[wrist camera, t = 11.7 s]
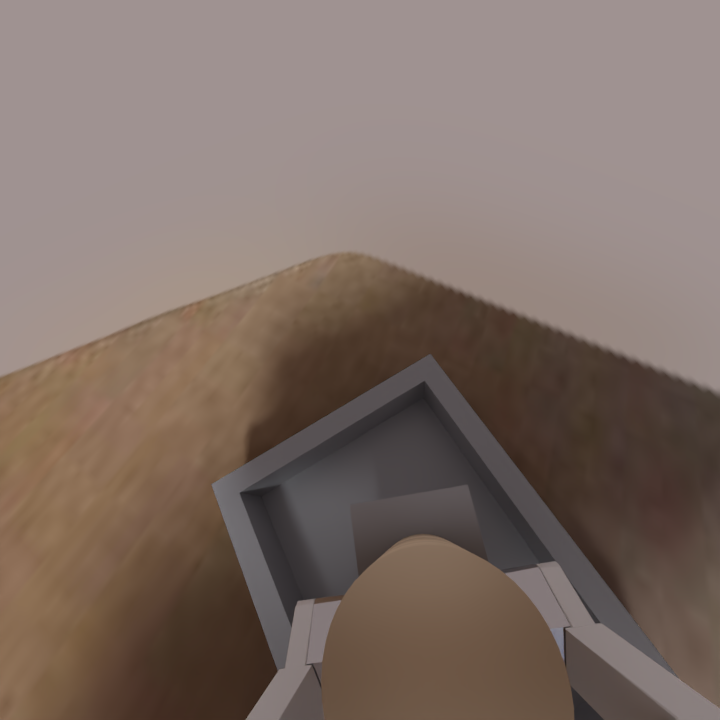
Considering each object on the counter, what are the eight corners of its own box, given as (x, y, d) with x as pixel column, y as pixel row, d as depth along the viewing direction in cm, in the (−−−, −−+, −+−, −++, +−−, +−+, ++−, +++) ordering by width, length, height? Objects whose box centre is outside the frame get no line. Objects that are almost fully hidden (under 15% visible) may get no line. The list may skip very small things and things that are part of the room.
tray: (649, 681, 17) (713, 723, 13) (394, 875, 15) (388, 982, 12) (427, 378, 24) (430, 353, 21) (243, 490, 23) (211, 484, 19)
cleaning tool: (515, 686, 13) (726, 1033, 4) (381, 705, 14) (312, 1063, 5) (463, 487, 16) (522, 442, 7) (354, 506, 17) (281, 485, 8)
